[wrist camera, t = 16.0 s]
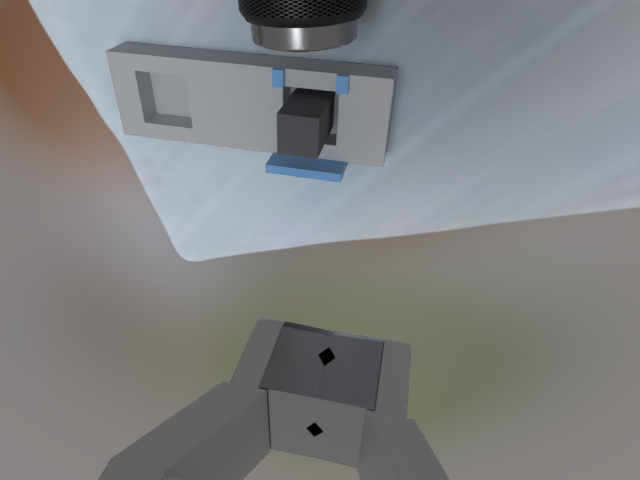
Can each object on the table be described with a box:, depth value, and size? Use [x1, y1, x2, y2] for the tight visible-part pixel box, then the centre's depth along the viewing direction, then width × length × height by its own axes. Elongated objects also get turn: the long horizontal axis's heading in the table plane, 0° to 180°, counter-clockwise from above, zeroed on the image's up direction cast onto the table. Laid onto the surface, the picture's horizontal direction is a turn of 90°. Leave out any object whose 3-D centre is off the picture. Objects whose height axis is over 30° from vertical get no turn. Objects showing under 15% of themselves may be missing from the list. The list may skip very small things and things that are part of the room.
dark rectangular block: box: [277, 88, 335, 159], centre depth 42 cm, size 4×4×7 cm
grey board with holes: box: [106, 42, 397, 182], centre depth 44 cm, size 9×26×6 cm, turn 88°
